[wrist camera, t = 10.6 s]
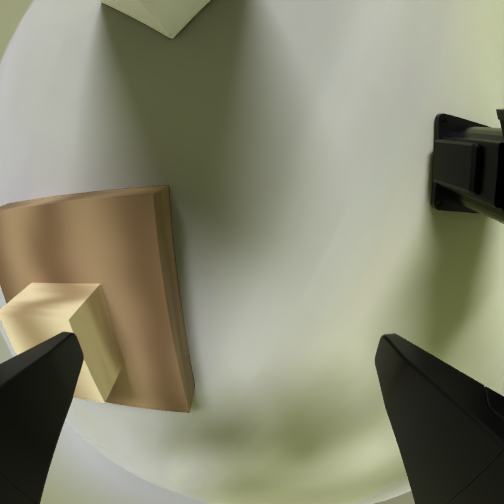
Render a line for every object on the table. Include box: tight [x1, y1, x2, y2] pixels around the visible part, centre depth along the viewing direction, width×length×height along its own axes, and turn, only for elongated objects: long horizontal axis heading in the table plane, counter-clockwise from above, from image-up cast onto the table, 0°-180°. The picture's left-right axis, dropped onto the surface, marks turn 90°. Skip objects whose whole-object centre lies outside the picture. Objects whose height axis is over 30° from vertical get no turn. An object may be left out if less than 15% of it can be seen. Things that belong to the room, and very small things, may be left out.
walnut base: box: [0, 185, 195, 413], centre depth 18 cm, size 14×16×3 cm
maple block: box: [0, 283, 125, 403], centre depth 15 cm, size 6×6×4 cm
